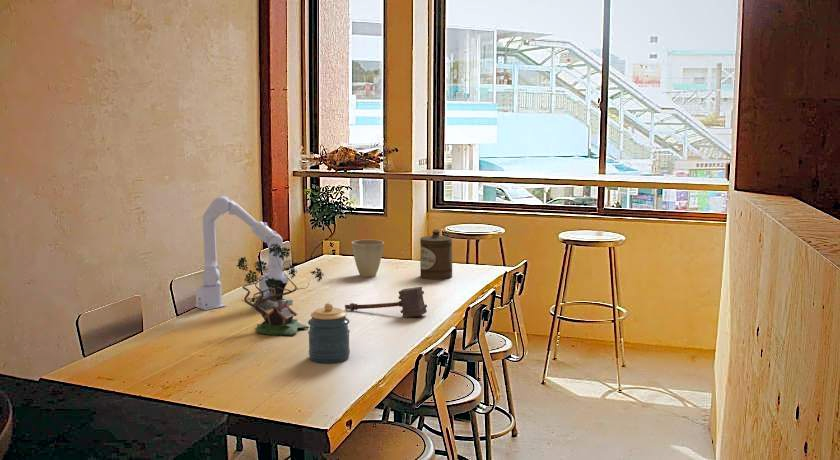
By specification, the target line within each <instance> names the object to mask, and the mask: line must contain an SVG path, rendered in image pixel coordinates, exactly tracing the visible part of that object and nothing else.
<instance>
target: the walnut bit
mask: <svg viewBox="0 0 840 460" xmlns="http://www.w3.org/2000/svg"><path fill="white" fill-rule="evenodd" d="M274 289H275V288H273V290H274ZM274 294H275V295H276V291H274ZM271 296H273V293H272V290H271ZM283 297H284V295H283V296H282V299H277V298H273V299H271V301H274V302H276V301H281V300H283Z"/></svg>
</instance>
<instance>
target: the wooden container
mask: <svg viewBox="0 0 840 460" xmlns="http://www.w3.org/2000/svg"><path fill="white" fill-rule="evenodd" d="M440 233H441V231H440V230H439V229H433V230H432V233H431V234H432V235H427V236H422V237H420V243H419V244H420V259H419V260H420V261H419V262H420V263H419V264H420V269H419V270H420V278H422V279H425V280H437V281H438V280H447V279H451V278H452V277H453V246H452V245H453V243H452V242H453V239H452V237H451V236H446V235H445V236H444V235H441V234H440Z"/></svg>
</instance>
